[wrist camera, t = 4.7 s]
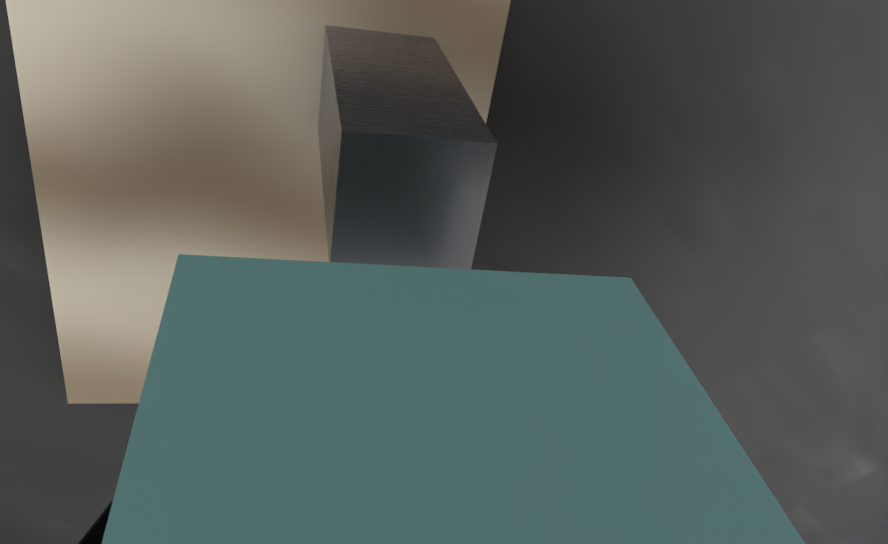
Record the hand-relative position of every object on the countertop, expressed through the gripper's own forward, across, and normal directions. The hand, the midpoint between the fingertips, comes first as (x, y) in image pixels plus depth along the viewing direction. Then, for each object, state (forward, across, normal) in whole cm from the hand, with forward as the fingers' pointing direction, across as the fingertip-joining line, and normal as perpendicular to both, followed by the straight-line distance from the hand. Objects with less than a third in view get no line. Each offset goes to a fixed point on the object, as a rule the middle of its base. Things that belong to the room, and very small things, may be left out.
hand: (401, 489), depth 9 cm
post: (+12, 0, -1) cm, 12 cm away
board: (+12, +2, +3) cm, 13 cm away
